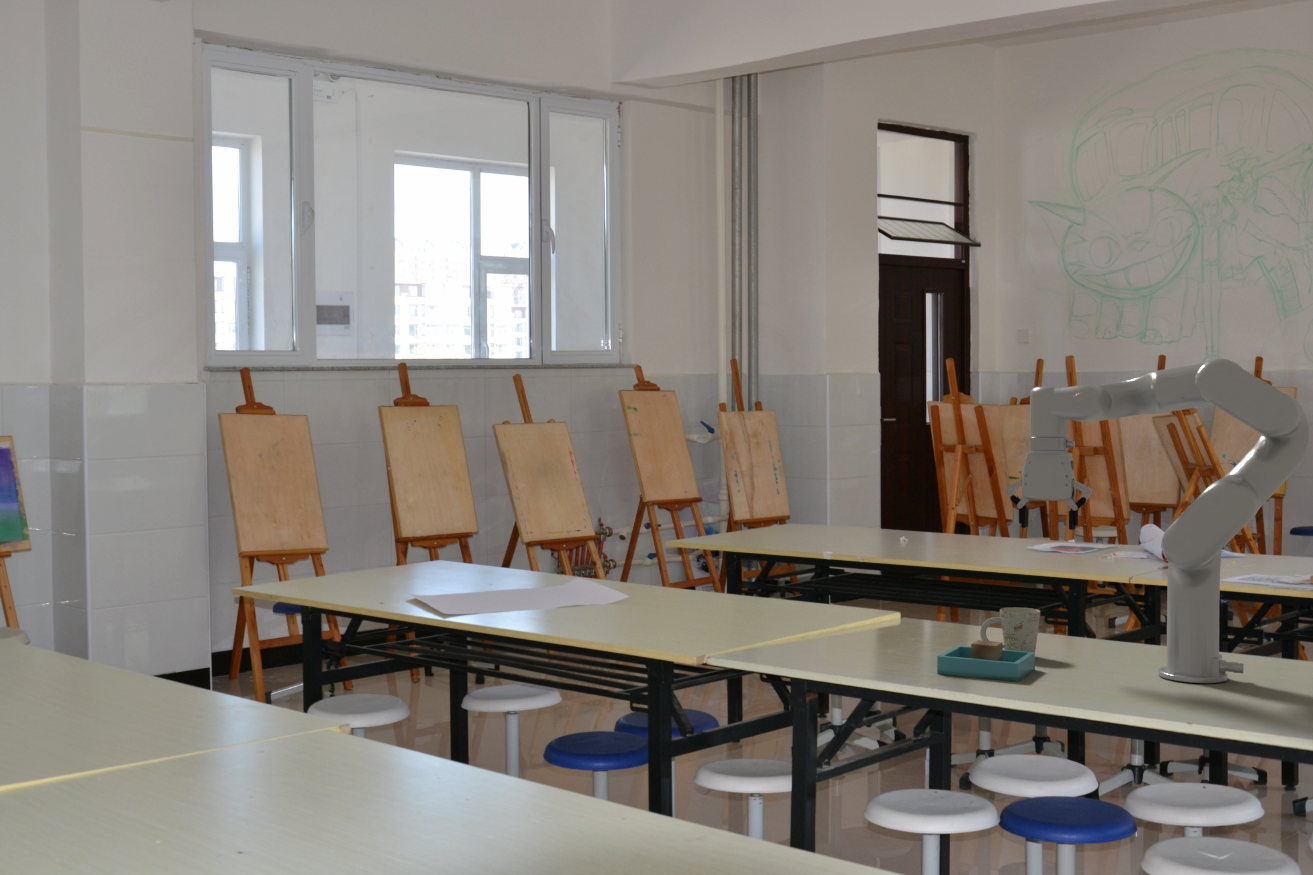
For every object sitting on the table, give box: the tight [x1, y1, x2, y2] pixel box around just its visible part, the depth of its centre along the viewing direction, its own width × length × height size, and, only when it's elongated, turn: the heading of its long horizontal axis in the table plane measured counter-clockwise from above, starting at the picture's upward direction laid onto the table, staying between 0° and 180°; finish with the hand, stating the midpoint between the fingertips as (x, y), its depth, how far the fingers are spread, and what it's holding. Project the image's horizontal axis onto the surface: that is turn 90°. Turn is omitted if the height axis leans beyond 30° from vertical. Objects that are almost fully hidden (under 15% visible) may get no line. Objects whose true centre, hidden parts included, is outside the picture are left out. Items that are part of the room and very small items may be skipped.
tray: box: [936, 645, 1036, 683], centre depth 258 cm, size 16×14×4 cm
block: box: [970, 639, 1004, 661], centre depth 258 cm, size 5×5×5 cm
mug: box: [979, 606, 1041, 653], centre depth 274 cm, size 8×13×10 cm, turn 89°
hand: (1048, 528), depth 265 cm, fingers open, 9 cm apart
